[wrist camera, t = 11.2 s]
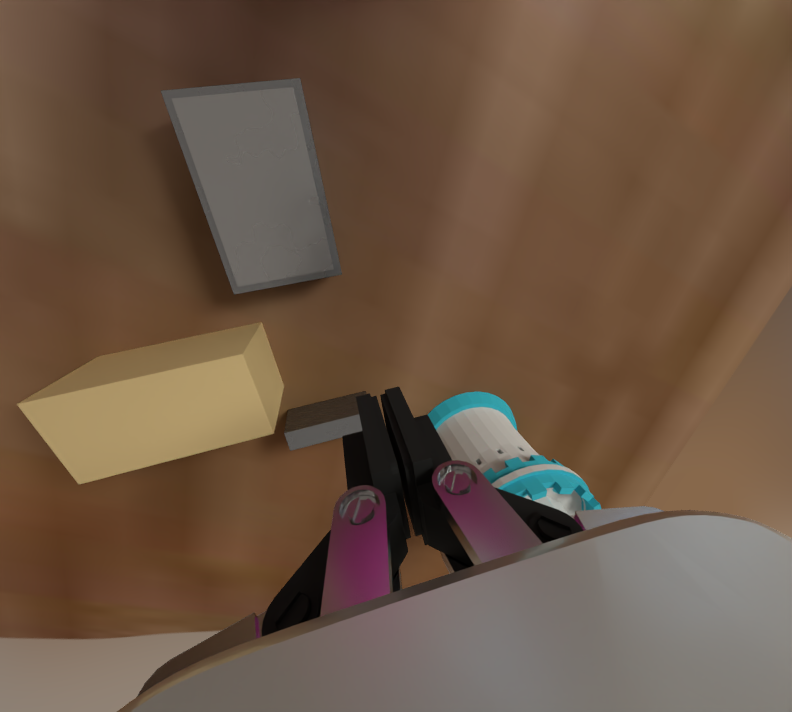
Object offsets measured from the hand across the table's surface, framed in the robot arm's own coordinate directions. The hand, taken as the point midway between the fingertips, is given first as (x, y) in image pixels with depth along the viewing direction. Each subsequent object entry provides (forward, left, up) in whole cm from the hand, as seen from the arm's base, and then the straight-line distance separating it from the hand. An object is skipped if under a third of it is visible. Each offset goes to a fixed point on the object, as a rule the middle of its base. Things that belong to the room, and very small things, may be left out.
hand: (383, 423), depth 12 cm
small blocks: (-3, -3, -12) cm, 13 cm away
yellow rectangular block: (+1, -11, -12) cm, 16 cm away
